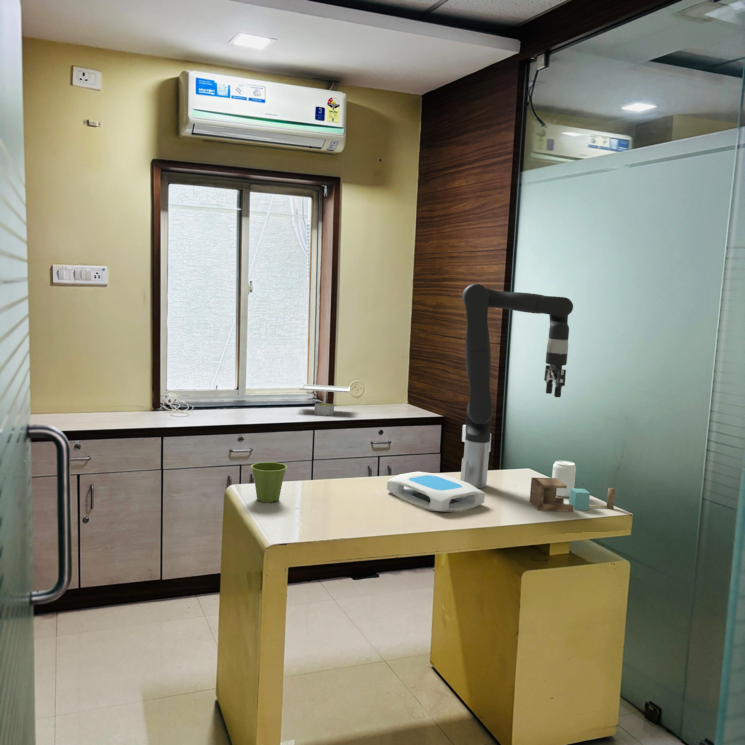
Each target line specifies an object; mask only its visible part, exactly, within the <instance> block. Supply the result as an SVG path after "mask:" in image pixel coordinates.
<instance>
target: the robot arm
mask: <svg viewBox="0 0 745 745" xmlns="http://www.w3.org/2000/svg"><path fill="white" fill-rule="evenodd" d="M461 297H462V302H463V304H464V306H465V313H466V324H467V325H466V330H465V331H466V332H465V342H464V345H465V346H464V355H465V357H464V358H465V366H466V373H467V378H468V379H467V380H468V383H469V401H468V404H467V407H466V408H467V409H466V419H465V436H464V448H463V449H464V450H463V457H462V458H461V468H460V469H461V470H460V479H459V480H461V481H464V482H467V483H469V484H471V485H473V486H474V487H476V488H477V489H484V488H486V487H487V482H488V470H489V459H490V458H489V457H490V444H491V429H492V427H491V426H492V418H493V414H494V409H493V404H492V397H491V396H492V394H491V388H490V387H491V385H490V384H491V371H492V370H491V367H492V366H491V364H492V362H491V361H492V360H491V359H492V355H491V354H492V353H491V341H490V331H489V324H488V314H489V313H488V310H489V308H495V309H503V310H510V311H515V312H519V313H520V312H521V313H527V314H528V313H529V314H538V315H539V314H541V315H542V314H545V315H549V328H548V330H549V331H548V339H547V343H546V353H545V364H546V365H545V369H544V376H543V377H544V378H543V380H544V381H545V384H546V386H545V393H546V394H549V395H551V394H553V386H554V394H553V396H554V398H561V396H562V388H563V387H565V386H566V373H567V372H566V371H567V370H566V369H563V366H566V365H567V364H568V352H569V334H570V326H569V322H568V321H569V315H570V314H571V313H572V312H573V309H574V304H573V302H572V300H571V299H570V298H568V297H565V296H555V295H554V296H552V295H551V296H550V295H543V294H539V293H531V292H515V291H514V292H513V291H502V290H496V289H491V288H487V287H486V286H484V285H483V284H480V283H472V284H469V285H467V287H465V288H464V290H463V292H462V294H461ZM553 384H554V385H553Z"/></svg>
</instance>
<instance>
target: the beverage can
mask: <svg viewBox="0 0 745 745" xmlns="http://www.w3.org/2000/svg"><path fill="white" fill-rule="evenodd" d="M576 472H577V467H576V464H575V462H573V461H569V460H555V461H554V463H553V466H552V474H551V478H557V479H558V480H559V481H561V482H562V483H563V484H565V485H566V486H567V488H557V491H556V497H563V498H569V497H570V488H574V489H575V483H576V482H575V481H576Z"/></svg>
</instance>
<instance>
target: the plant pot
mask: <svg viewBox="0 0 745 745" xmlns="http://www.w3.org/2000/svg"><path fill="white" fill-rule="evenodd" d="M250 468H251V469H252V475H253V478H254V485H255V495H256V500H257V501H260V502H261V503H273V502H278V501H279V500H280V497H281V491H282V485H283V481H284V476H285V473H286V470H287V469H288V465H287V464H284V463H282V462H281V463H280V462H276V461H275V462H274V461H269V462H268V461H264V462H256V463H253V464H251V465H250Z"/></svg>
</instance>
